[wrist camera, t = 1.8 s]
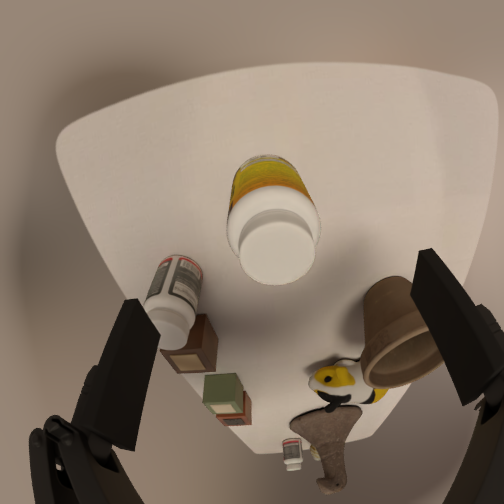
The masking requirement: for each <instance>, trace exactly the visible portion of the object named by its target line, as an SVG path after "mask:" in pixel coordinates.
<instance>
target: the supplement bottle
mask: <svg viewBox="0 0 504 504" xmlns="http://www.w3.org/2000/svg"><path fill="white" fill-rule="evenodd" d="M320 232H321V222H320V217H319V214H318V212H317V210H316V207H315V205H314V203H313V201H312V199H311V197H310V195H309V193H308V191H307V189H306V187H305V185H304V183H303V182H302V180H301V178H300V176H299V174H298V172H297V171H296V169H295V168H294V166H293V165H292V164H291V163H289V162H288V161H287V160H285V159H283V158H281V157H279V156H276V155H259V156H255V157H253V158H251V159H249V160H247V161H246V162H245V163H243V164H242V165H241V167H240V168H239V169H238V171H237V172H236V174H235V177H234V180H233V185H232V192H231V198H230V206H229V213H228V219H227V239H228V242H229V245H230V247H231V249H232V251H233V252H234V253H235V255H236V256H237V257H238V258H239V260H240V264H241V266H242V268H243V270H244V271H245V273H246V274H247V275H248V276H249V277H250V278H252V279H253V280H255V281H257V282H259V283H262V284H266V285H284V284H288V283H291V282H294V281H296V280H298V279H299V278H301V277H302V276H303V275H305V274H306V273H307V272H308V271H309V269H310V268H311V266H312V264H313V262H314V260H315V254H316V248H315V247H316V245H317V243H318V241H319V238H320Z"/></svg>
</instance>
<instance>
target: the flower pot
mask: <svg viewBox="0 0 504 504" xmlns="http://www.w3.org/2000/svg"><path fill="white" fill-rule="evenodd" d="M411 288H412V283H411V282H409V281H408V280H407V279H405V278H403V277H398V276H395V277H389V278H386V279H384V280H382V281H380V282H378V283H377V284H375V285H374V286H373V287H372V288H371V289H370V290H369V292H368V293H367V295H366V297H365V299H364V331H365V348H364V350H363V352H362V354H361V358H360V365H361V370H362V374H363V380H364V382H365V384H366V385H368V386H369V387H372V388H375V389H390V388H396V387H400V386H403V385H406V384H409V383H412V382H414V381H416V380H418V379H420V378H422V377H424V376H426V375H428V374H429V373H431V372H432V371H434V370H435V369H437V368H438V367H439V366H441V365H442V364H443V363H444V360H443V358H442V356H441V354H440V352H439V349H438V347H437V345H436V343H435V341H434V339H433V337H432V335H431V333H430V331H429V329H428V327H427V325H426V323H425V322H424V320H423V318H422V316H421V314H420V312H419V310H418V309H417V307H416V305H415V303H414V301H413V300H412V298H411V296H410V292H411Z"/></svg>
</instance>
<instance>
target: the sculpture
mask: <svg viewBox="0 0 504 504" xmlns="http://www.w3.org/2000/svg"><path fill="white" fill-rule="evenodd" d="M361 415H362V410H361V409H360V408H359V407H357V406H345V407H337V408H336V409H335V410H334V411H333V412H331V413H326V412H325V409H322V410H317V411H314V412H311V413H308V414H305V415H302V416H299V417H297V418H295V419H294V420H293V421H292V422H291V424H290V429H291V430H292V431H293V432H295V433H297V434H299V435H300V436H301V437H303V438H304V439H306V440H307V441H308V442H310V443H311V444H312V445H313V446H314V447H315V448H316V450H317V452H318V454H319V457H320V459H321V462H322V466H323V470H324V474H325V478H318V479H317V481H316V482H317V484H318V486H319V489H320V490H321V492H322V493H324V494H326V495H329V494H333V493H335V492H339V491H341V490H342V489H343V488H344V487H345V485H346V483H347V476H346V471H345V465H344V454H343V452H344V445H345V440H346V438H347V436H348V435H349V433H350V431H351V429H352V427H353V426H354V424H355V423H356V422H357V420H358V419H359V418H360V417H361Z"/></svg>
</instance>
